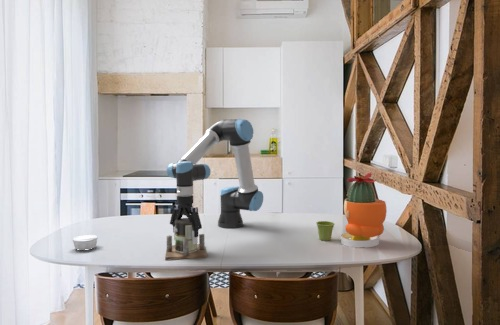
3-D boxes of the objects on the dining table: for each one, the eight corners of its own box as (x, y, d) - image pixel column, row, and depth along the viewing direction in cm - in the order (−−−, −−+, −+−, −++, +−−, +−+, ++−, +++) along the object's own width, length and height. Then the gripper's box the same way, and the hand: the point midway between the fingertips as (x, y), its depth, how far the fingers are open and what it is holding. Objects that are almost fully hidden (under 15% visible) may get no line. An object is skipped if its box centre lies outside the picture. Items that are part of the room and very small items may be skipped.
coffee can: (173, 253, 176) (173, 223, 175) (176, 247, 187) (176, 217, 186) (196, 253, 177) (196, 222, 176) (197, 246, 188) (197, 217, 186)
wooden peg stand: (204, 246, 193) (204, 229, 192) (206, 257, 175) (206, 239, 174) (166, 248, 190) (166, 231, 189) (165, 259, 172) (164, 241, 171)
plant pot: (335, 237, 207) (335, 221, 206) (333, 242, 198) (333, 225, 198) (317, 236, 210) (317, 220, 210) (314, 241, 201) (314, 224, 201)
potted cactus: (333, 242, 199) (334, 174, 196) (360, 235, 213) (361, 171, 210) (368, 252, 182) (370, 177, 179) (396, 244, 195) (398, 174, 193)
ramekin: (82, 253, 182) (82, 242, 182) (68, 249, 188) (67, 238, 188) (102, 247, 192) (102, 236, 191) (88, 243, 198) (88, 233, 197)
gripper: (161, 193, 184) (162, 239, 186) (198, 198, 170) (198, 247, 172) (173, 191, 190) (173, 236, 192) (209, 196, 176) (210, 243, 178)
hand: (185, 241), depth 182 cm, fingers open, 11 cm apart
